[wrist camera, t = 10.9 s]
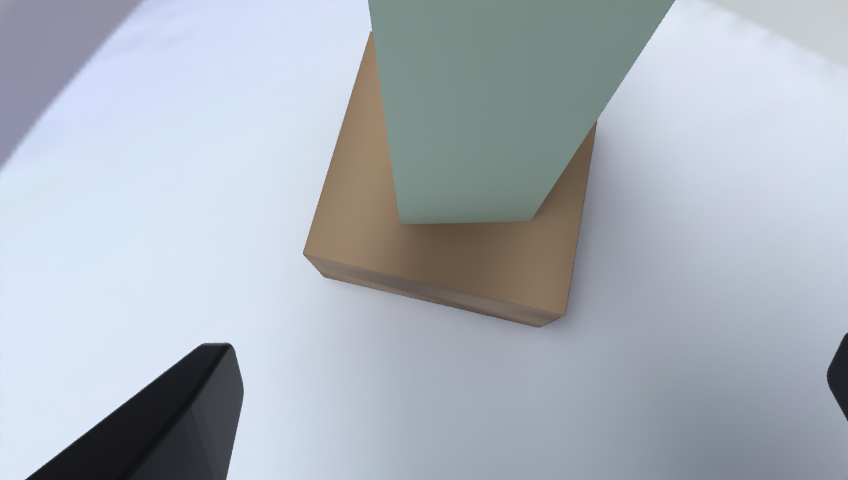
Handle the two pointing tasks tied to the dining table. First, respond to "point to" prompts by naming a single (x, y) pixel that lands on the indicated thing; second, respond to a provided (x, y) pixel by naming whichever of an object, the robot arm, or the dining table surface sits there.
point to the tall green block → (496, 96)
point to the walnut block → (440, 229)
